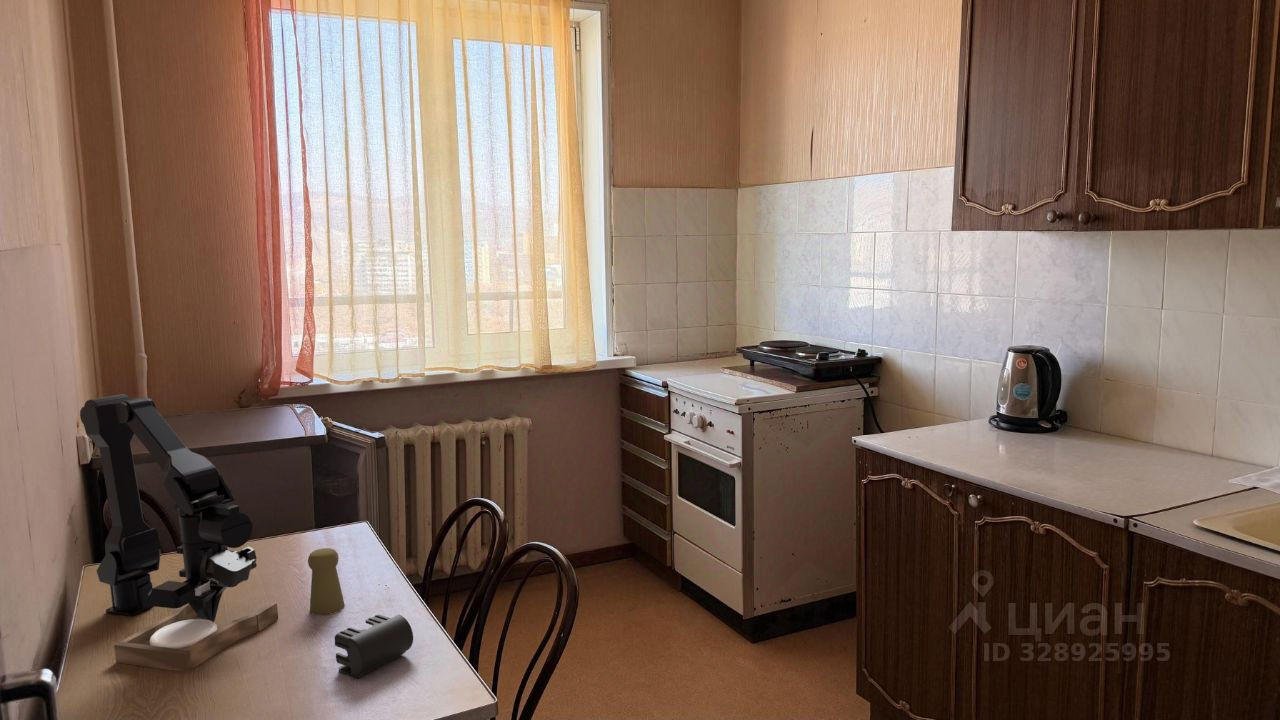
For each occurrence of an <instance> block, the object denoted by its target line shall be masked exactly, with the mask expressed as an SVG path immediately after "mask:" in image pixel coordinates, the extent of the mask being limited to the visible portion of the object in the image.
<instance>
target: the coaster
mask: <svg viewBox="0 0 1280 720" xmlns="http://www.w3.org/2000/svg"><path fill="white" fill-rule="evenodd" d="M217 630H218V625H217V624H216V622H215V621H214V622H212V621H210V620H206V619H200V618H195V619H191V620H184V621H180V622H176V623H173V624H170V625H167V626H165V627H163V628H161V629H159V630H158V631H156V632H155V633H154V634H153V635H152V636H151V638H150V644H151V646H158V647H166V648H174V649H181V650H185V649H186V648H188V647H190V646H192V645H193V644H195V643H197V642H198V641H200V640H202V639H203V638H205V637H207V636H208V635H210V634H212V633H213V632H215V631H217Z"/></svg>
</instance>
